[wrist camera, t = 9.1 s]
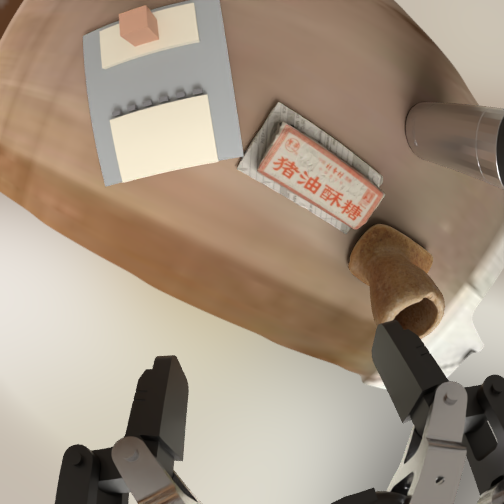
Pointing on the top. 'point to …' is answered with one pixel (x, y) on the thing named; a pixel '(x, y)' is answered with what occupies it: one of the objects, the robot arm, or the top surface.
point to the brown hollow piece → (398, 279)
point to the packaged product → (312, 170)
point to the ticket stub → (147, 33)
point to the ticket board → (164, 104)
